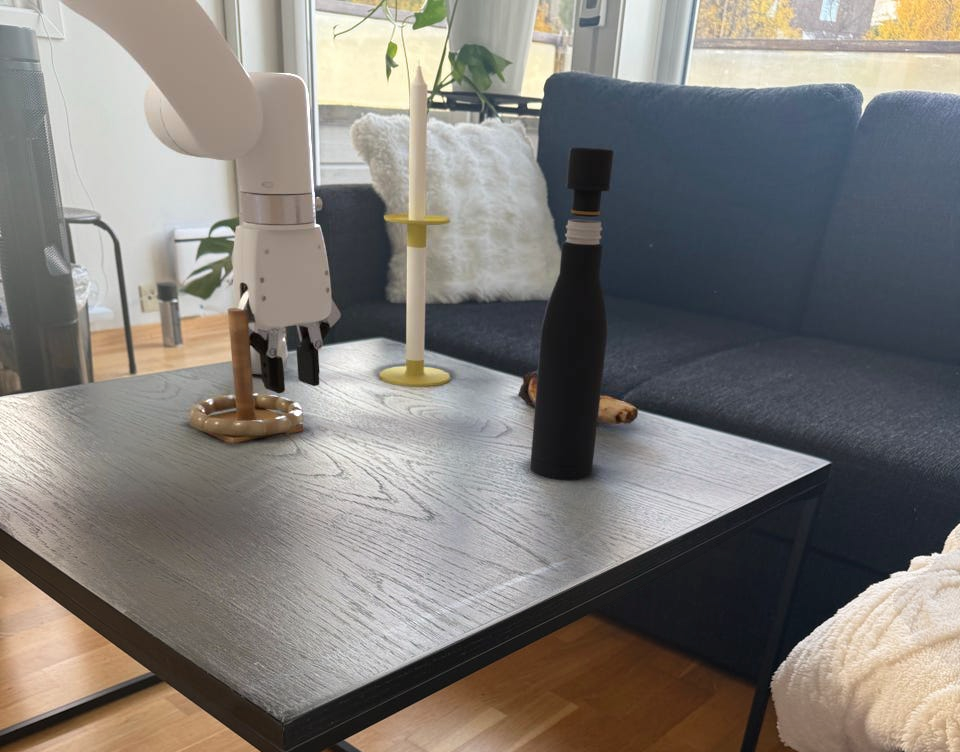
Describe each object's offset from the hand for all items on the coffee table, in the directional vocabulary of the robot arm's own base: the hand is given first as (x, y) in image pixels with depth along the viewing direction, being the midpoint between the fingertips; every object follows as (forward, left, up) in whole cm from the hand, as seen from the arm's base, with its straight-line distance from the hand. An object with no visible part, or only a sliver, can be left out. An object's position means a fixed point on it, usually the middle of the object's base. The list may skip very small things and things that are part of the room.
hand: (291, 385), depth 105 cm
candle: (+26, +8, -4) cm, 27 cm away
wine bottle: (+12, -31, -4) cm, 33 cm away
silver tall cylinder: (+10, +21, -4) cm, 24 cm away
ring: (-6, 0, -2) cm, 6 cm away
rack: (-6, 0, -4) cm, 8 cm away
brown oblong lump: (+28, -18, -4) cm, 33 cm away
